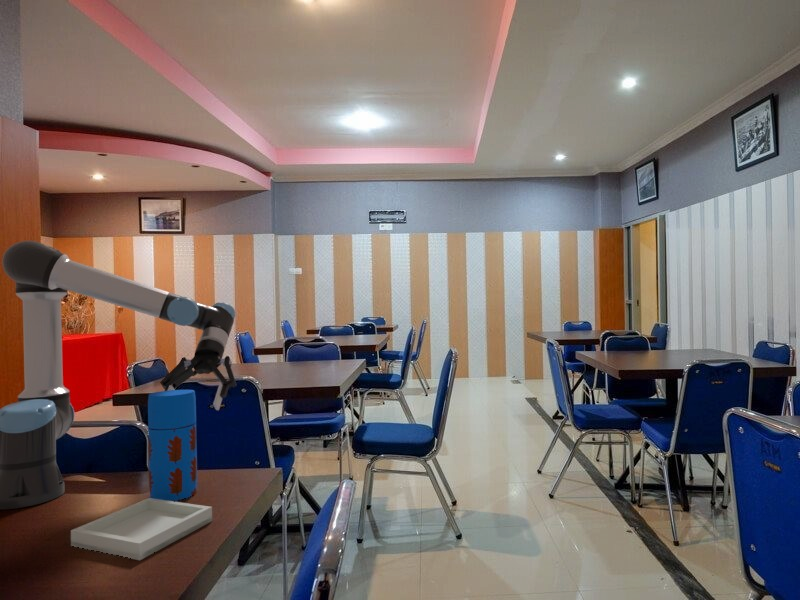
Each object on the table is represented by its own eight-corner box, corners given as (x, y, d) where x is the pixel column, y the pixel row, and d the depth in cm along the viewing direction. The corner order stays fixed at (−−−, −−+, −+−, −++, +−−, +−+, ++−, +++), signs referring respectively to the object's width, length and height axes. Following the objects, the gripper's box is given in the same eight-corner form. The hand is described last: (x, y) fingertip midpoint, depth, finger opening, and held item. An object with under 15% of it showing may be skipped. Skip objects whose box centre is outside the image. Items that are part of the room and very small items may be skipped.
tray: (70, 546, 96) (70, 530, 97) (149, 511, 113) (148, 497, 113) (139, 560, 90) (139, 543, 90) (212, 521, 107) (211, 506, 107)
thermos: (205, 487, 128) (203, 389, 129) (183, 503, 118) (181, 395, 118) (165, 487, 129) (163, 389, 130) (139, 502, 119) (138, 396, 120)
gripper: (257, 353, 149) (241, 414, 134) (173, 356, 150) (148, 417, 134) (250, 336, 144) (233, 398, 129) (164, 339, 144) (137, 400, 129)
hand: (190, 408), depth 131 cm, fingers open, 13 cm apart
